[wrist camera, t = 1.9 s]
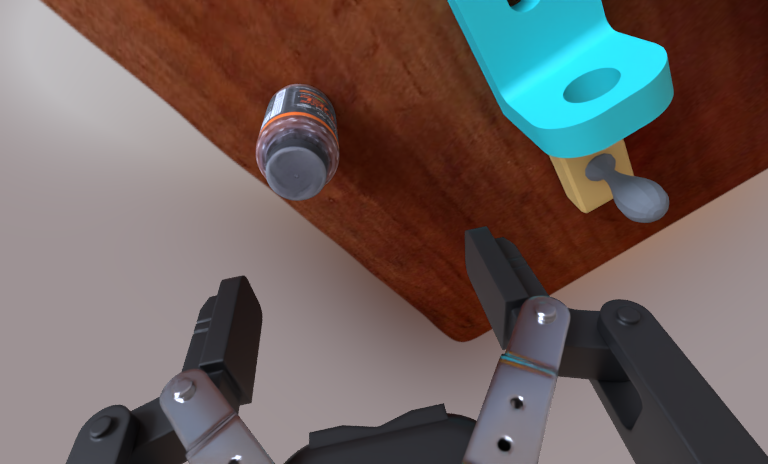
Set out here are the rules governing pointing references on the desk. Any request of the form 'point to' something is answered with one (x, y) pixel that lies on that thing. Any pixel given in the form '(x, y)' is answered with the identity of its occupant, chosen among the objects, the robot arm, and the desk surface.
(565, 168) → the rubber stamp
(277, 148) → the supplement bottle
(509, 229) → the desk surface
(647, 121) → the bracket
